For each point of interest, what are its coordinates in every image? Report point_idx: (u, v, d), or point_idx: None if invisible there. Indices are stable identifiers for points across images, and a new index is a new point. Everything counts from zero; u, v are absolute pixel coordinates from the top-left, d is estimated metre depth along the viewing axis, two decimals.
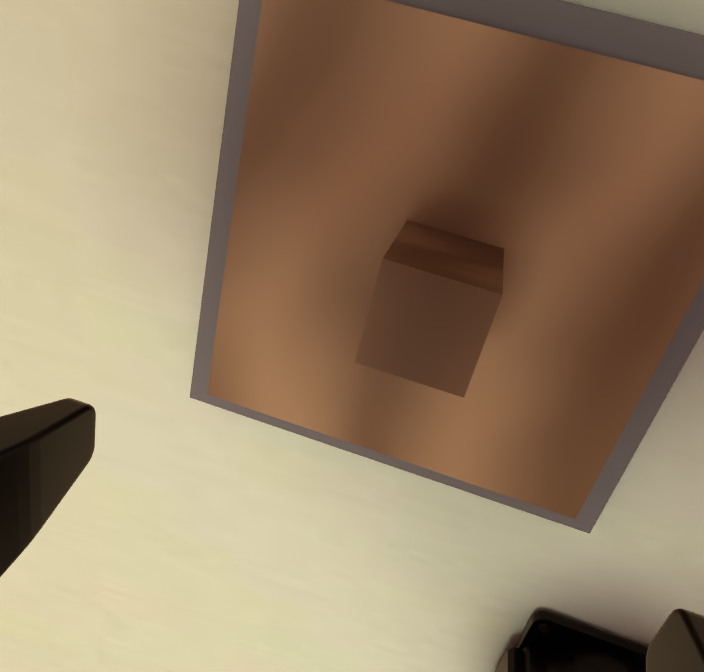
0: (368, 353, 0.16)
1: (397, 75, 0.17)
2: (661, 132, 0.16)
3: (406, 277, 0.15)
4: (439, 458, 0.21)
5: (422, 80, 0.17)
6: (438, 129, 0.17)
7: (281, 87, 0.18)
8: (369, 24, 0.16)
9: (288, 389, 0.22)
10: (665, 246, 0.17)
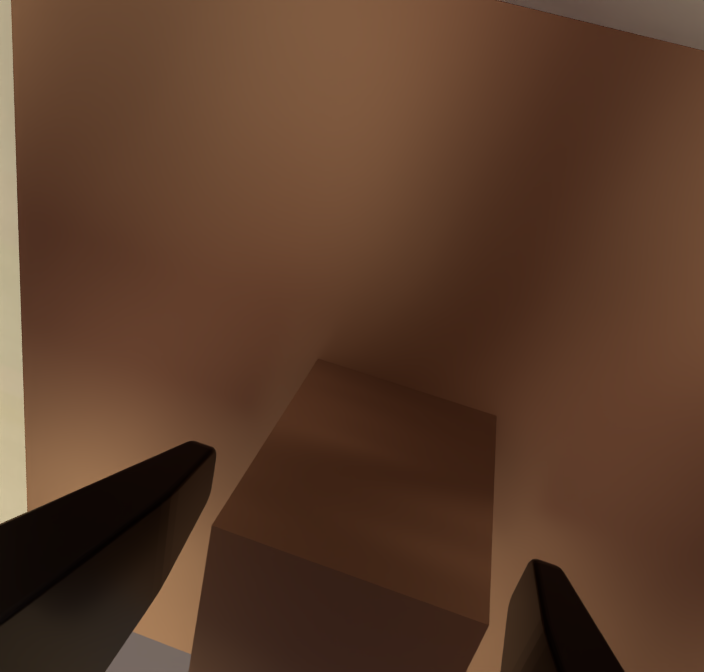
0: None
1: (280, 94, 0.08)
2: None
3: (267, 566, 0.06)
4: None
5: (329, 104, 0.08)
6: (366, 199, 0.09)
7: (69, 116, 0.09)
8: None
9: None
10: None
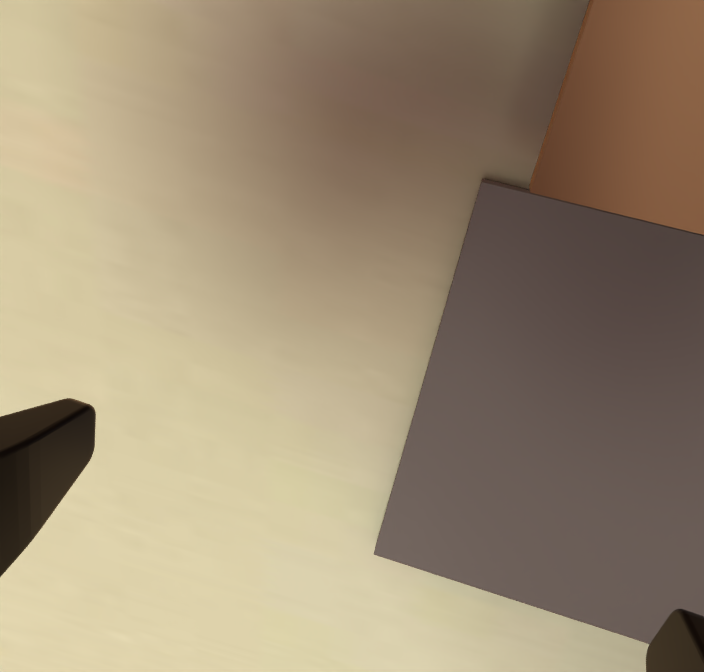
0: None
1: None
2: None
3: None
4: None
5: None
6: None
7: None
8: None
9: (698, 162, 0.12)
10: None
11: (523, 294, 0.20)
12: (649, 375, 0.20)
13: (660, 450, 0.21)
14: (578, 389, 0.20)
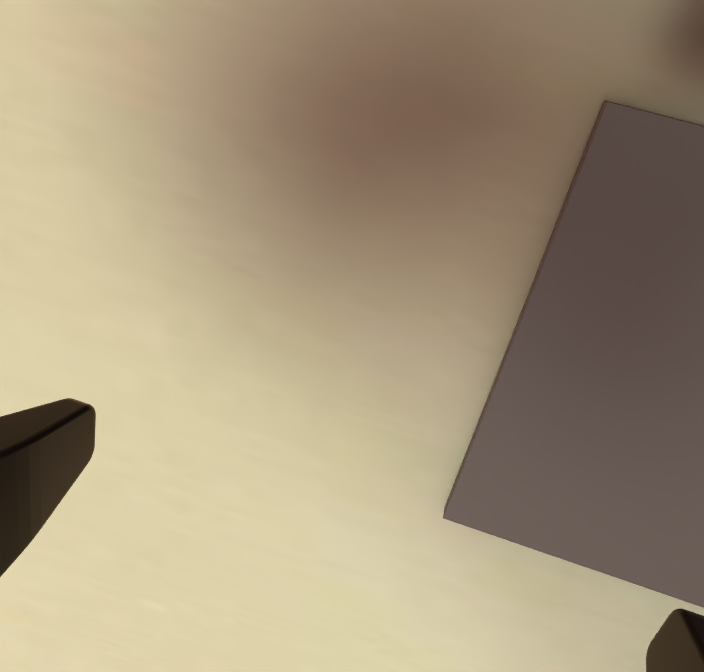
0: None
1: None
2: None
3: None
4: None
5: None
6: None
7: None
8: None
9: None
10: None
11: (640, 230, 0.18)
12: None
13: None
14: (690, 337, 0.19)
